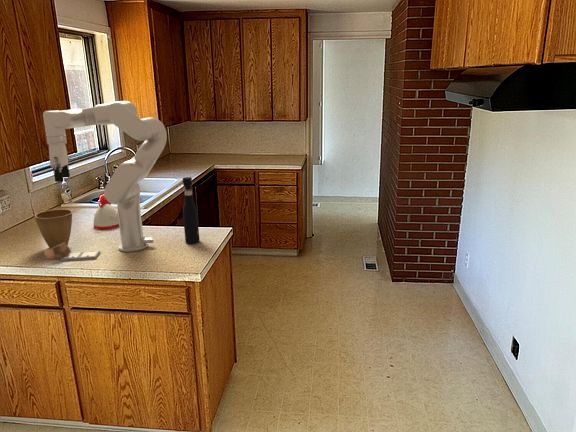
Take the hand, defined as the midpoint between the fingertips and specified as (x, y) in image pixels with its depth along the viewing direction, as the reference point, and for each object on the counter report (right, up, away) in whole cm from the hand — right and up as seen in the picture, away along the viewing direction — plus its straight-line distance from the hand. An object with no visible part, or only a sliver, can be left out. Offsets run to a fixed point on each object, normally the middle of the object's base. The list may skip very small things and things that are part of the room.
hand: (62, 179), depth 199 cm
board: (+11, -34, -6) cm, 36 cm away
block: (+4, -33, -7) cm, 34 cm away
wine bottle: (+55, -28, +9) cm, 63 cm away
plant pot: (-5, -31, +7) cm, 32 cm away
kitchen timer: (+5, -21, +38) cm, 44 cm away
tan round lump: (-1, -34, -5) cm, 34 cm away
